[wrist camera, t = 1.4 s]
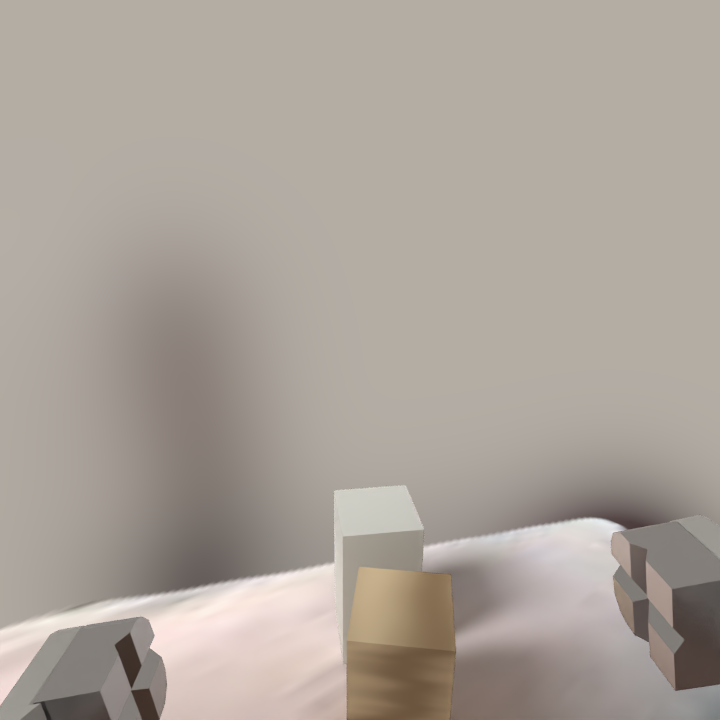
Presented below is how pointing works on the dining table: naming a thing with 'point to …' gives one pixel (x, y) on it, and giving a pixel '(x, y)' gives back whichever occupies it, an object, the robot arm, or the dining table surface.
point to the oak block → (400, 646)
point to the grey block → (372, 541)
